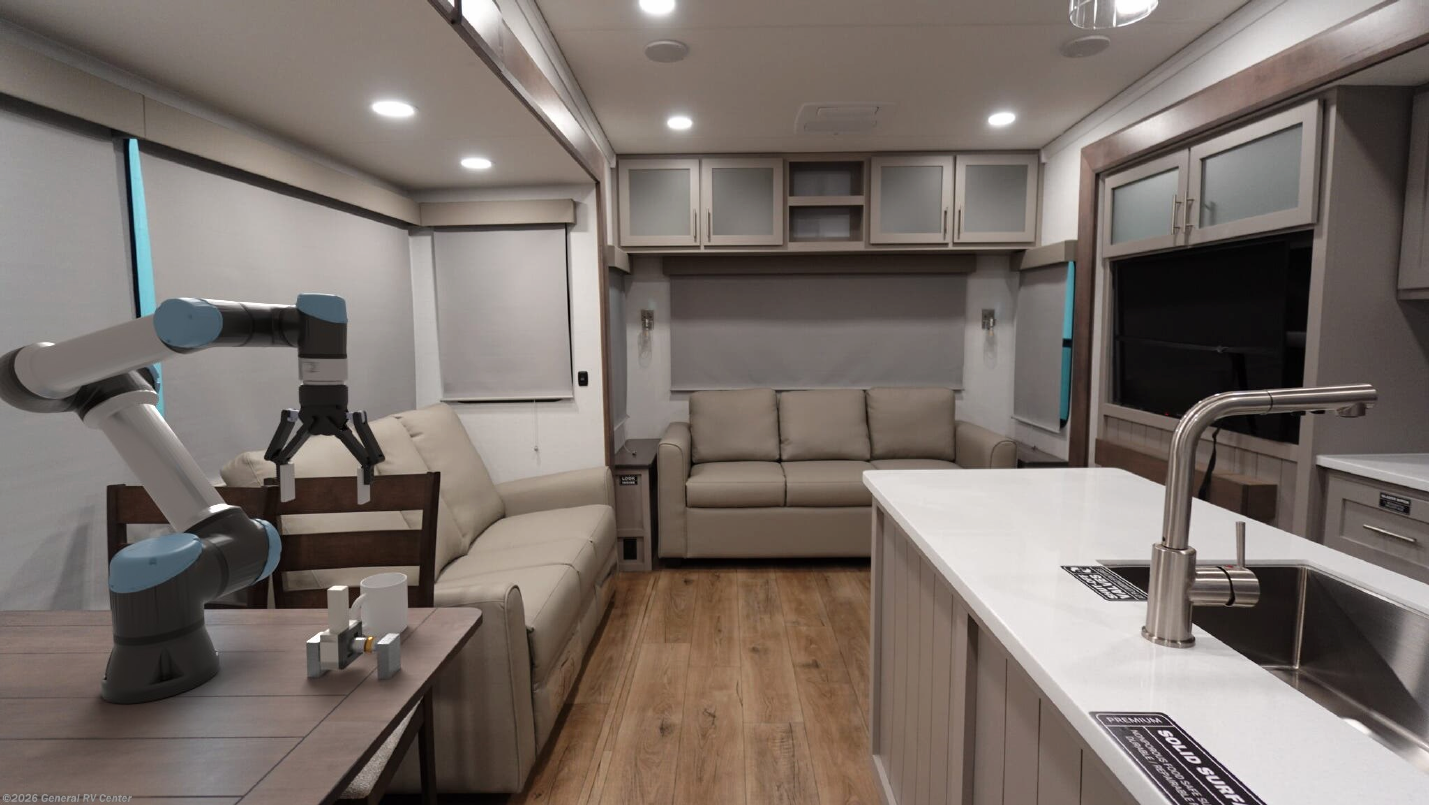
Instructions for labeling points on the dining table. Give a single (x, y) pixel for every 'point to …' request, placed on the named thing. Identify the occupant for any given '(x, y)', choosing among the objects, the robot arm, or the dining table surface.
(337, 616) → the sleeve
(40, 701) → the dining table surface
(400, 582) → the mug
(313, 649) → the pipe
